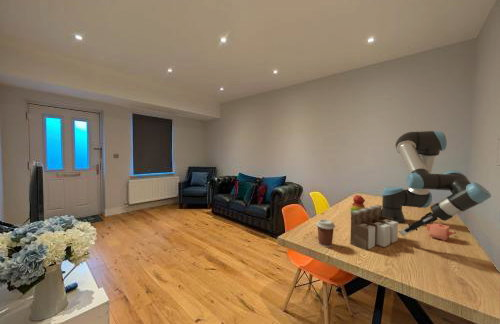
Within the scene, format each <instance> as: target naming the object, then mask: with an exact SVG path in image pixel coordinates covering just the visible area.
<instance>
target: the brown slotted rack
mask: <svg viewBox="0 0 500 324" xmlns="http://www.w3.org/2000/svg"><path fill="white" fill-rule="evenodd" d="M381 209H382V205H380V204H375V205H372V206H368V207H365V208H363V209H360V210H356V211H352V212H351V211H350V243H349V244H350V245H352V246H354V247H356V248H359V249H361V250H364V251H367V250H368V249H367V247H368V227H364V226H361V225H360V224H363V223H364V224H367V225H371V226H374V227H375V246H374V247H376V246H377V244H376V239H377V224H374V223H377V222H380V223H384V224H385V221H382V220H385V219H387V220H391V221H393V218H388V217H384V216H381Z"/></svg>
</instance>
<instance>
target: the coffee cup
mask: <svg viewBox="0 0 500 324" xmlns="http://www.w3.org/2000/svg"><path fill="white" fill-rule="evenodd" d="M315 226H316V227H317V235H318V236H317V237H318V245H320V247H321V246H322V247H325V248H330V247H332V246H333V237H334V230H335V228H336V225H335V224H334V222H333V221H332V220H330V219H319V220H318V221H317V222H316V225H315Z"/></svg>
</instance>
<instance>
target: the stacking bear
mask: <svg viewBox="0 0 500 324" xmlns="http://www.w3.org/2000/svg"><path fill="white" fill-rule="evenodd" d="M352 198H353V201H352V202H353V203H351V206H350V213H351V212H352V211H356V210H360V209H363V208H366V207H365V204H364V203H365V201H366V200H365V199H364V197H363V196H362V195H358V194H356V195H355V196H354V197H352Z"/></svg>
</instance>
